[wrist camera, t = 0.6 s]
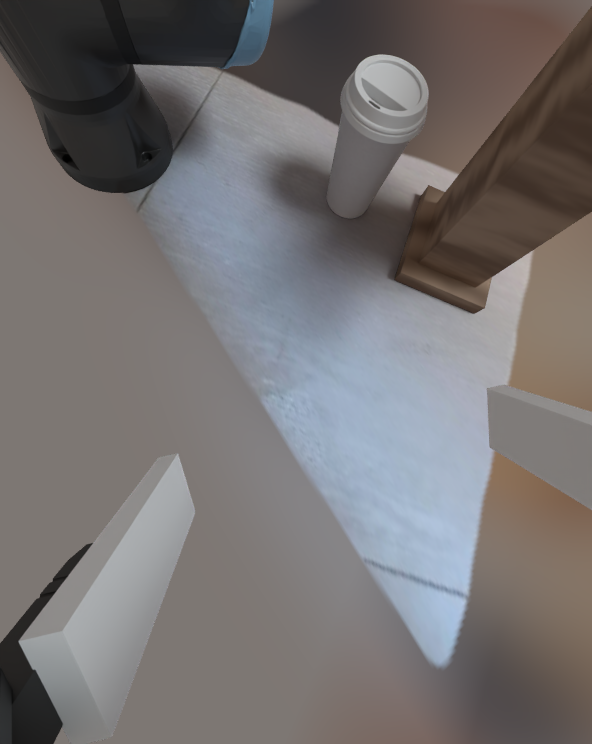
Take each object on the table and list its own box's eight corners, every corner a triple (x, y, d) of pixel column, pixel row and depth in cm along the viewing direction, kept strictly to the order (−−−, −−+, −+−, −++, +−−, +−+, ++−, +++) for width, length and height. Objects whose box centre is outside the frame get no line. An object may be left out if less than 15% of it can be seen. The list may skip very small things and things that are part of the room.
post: (474, 313, 43) (941, 61, 14) (394, 279, 42) (703, -61, 13) (494, 227, 46) (895, -115, 17) (421, 195, 46) (708, -217, 17)
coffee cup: (304, 186, 43) (328, 63, 29) (354, 164, 45) (401, 38, 31) (339, 237, 42) (382, 136, 28) (389, 212, 44) (454, 105, 30)
